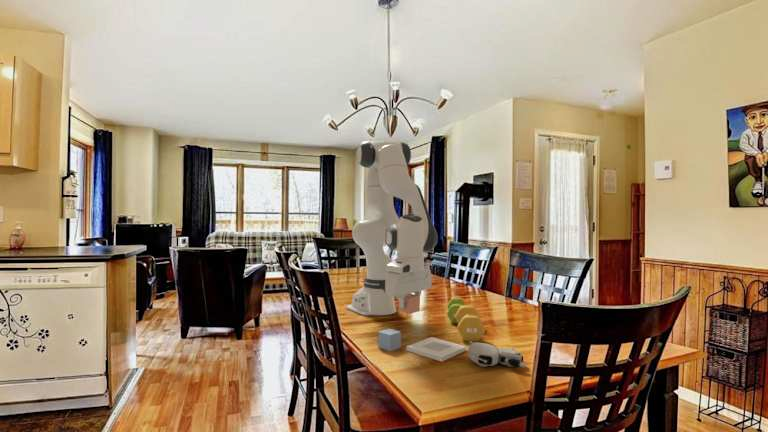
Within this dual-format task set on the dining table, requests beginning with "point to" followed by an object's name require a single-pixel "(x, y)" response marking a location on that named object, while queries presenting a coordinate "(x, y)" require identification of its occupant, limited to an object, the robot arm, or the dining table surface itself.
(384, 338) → the brick blue
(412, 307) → the brick terracotta
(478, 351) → the robot toy
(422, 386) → the dining table surface
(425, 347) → the plate
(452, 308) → the dumbbell
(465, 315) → the dumbbell
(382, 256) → the robot arm
